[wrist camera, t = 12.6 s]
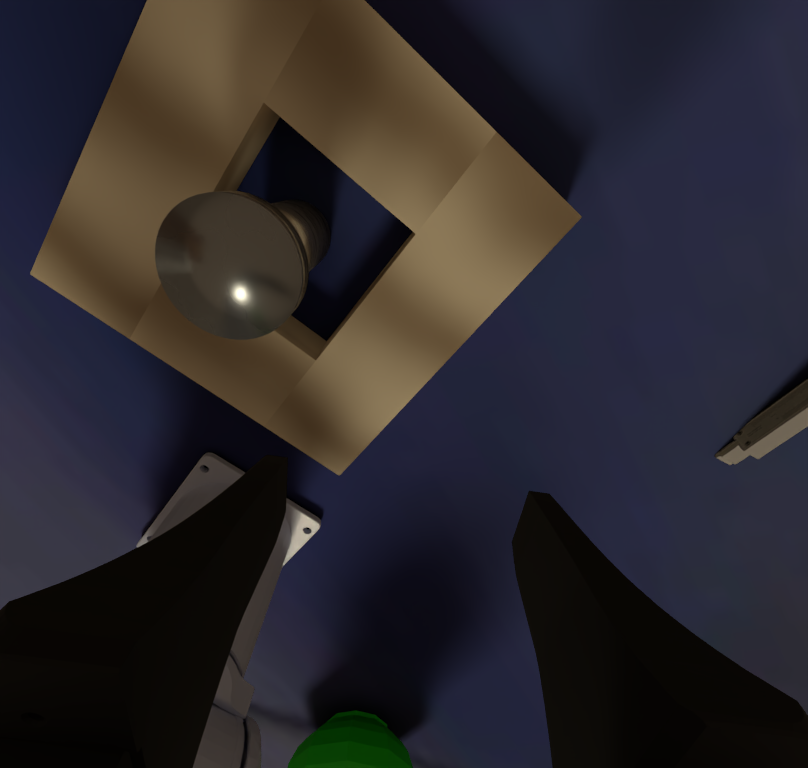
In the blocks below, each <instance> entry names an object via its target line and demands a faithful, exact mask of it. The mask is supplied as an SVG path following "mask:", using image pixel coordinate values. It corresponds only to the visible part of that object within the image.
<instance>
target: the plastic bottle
mask: <svg viewBox="0 0 808 768" xmlns="http://www.w3.org/2000/svg"><path fill="white" fill-rule="evenodd" d="M288 768H413V767H412V763H411V760H410V757H409V753H408V751H407V749H406V748H405V746H404V745H403V743H402V742H401V741H400V740H399V739H398V738H397V737H396V736H395V735H394V733H393V732H392V731H391V730H389V729H388V728H387V724H386V723H385V722H383V721H382V720H381V719H380V718H378V717H377V716H376V715H374V714H370V713H365V712H361V711H356V710H355V711H348V712H342V713H337V714H335V715H334V716H333V717H332V718H331V719H329V720H328V721H327V722H326V723H325V724H323V725H322V726H321V727H320V728H318V729H317V730H316V731H315V732H314V733H312V734H311V735H310V736H309V737H308V738H306V739H305V741H304V742H303V743H302V744H301V745H300V746H299V747H298V748H297V750H296V752H295V753H294V755H293V757H292V759H291V760H290V762H289V765H288Z"/></svg>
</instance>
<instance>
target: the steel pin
mask: <svg viewBox="0 0 808 768" xmlns="http://www.w3.org/2000/svg"><path fill="white" fill-rule="evenodd" d="M330 241H331V235H330V229H329V226H328V223H327V221H326V219H325V217H324V216H323V214H322V213H321V212H320V211H319V210H318V209H317V208H316V207H315V206H313V205H312V204H310V203H308V202H306V201H303V200H297V199H290V200H285V201H280V202H276V203H271V204H270V203H269V202H267V201H265V200H264V199H262V198H260V197H257V196H255V195H252V194H249V193H245V192H240V191H217V192H207V193H202V194H197V195H194V196H192V197H189V198H187V199H185V200H183V201H182V202H180V203H179V204H177V205H176V206H175V207H174V208H173V209H172V210H171V211H170V212H169V213H168V214H167V216H166V217H165V219H164V220H163V222H162V224H161V226H160V229H159V231H158V234H157V238H156V244H155V262H156V269H157V272H158V276H159V279H160V282H161V284H162V287H163V289H164V291H165V292H166V294H167V296H168V298H169V299H170V300H171V302H172V303H173V305H174V306H175V307H176V308H177V309H178V311H179V312H180V313H181V314H182V315H183V316H184V317H185V318H187V319H188V320H189V321H190V322H192V323H193V324H194V325H196V326H197V327H199V328H201V329H202V330H204V331H206V332H208V333H211V334H213V335H216V336H219V337H223V338H227V339H235V340H248V339H254V338H258V337H261V336H264V335H267V334H269V333H271V332H272V331H274V330H276V329H277V328H278V327H280V326H281V325H282V324H283V323H284V322H285V321H286V320H287V319H288V318H289V317H290V315H291V314H292V313H293V312H294V311H295V310H296V308H297V307H298V306H299V304H300V303H301V301H302V299H303V297H304V294H305V292H306V288H307V285H308V277H309V271H311V270H312V269H313V268H314V267H315V266H316V265H317V264H318V263H319V262H320V261H322V260H323V258H324V257H325V256H326V254H327V252H328V250H329V246H330Z"/></svg>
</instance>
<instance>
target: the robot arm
mask: <svg viewBox="0 0 808 768" xmlns="http://www.w3.org/2000/svg"><path fill="white" fill-rule="evenodd" d="M203 465H205V466H207V467H208V468H209V469H207V468H205V467H204V466H203ZM287 465H288V458H286V457H279V456H272V455H266V456H265V457H263V458H262V459H261V460H260V461H259V462H257V463H256V464H255V465H254V466H253V467H252V468H251V469H249V470H248V471H247V472H246V473H245V472H244V471H242V470H240V469H239V468H237V467H235V466H234V465H232V464H230V463H229V462H227V461H226V460H224V459H222V458H221V457H219V456H217V455H216V454H214V453H209V452H208V453H205V454H204V455H203V456H202V457H201V459H200V460H199V461H198V463H197V464H196V466H195V467H194V468H193V470H192V471H191V472H190V474H189V475H188V476H187V478H186V479H185V480H184V482H183V483H182V484H181V486H180V487H179V488H178V490H177V491H176V492H175V494H174V495H173V496H172V498H171V499H170V501H169V502H168V503H167V505H166V506H165V507H164V509H163V510H162V511H161V513H160V514H159V515H158V517H157V518H156V519H155V521H154V522H153V523H152V525H151V526H150V527H149V529H148V530H147V532H146V533H145V534H144V536H143V537H142V538H141V540H140V541H139V542H138V544H137V548H136V549H134V550H132V551H130V552H128V553H126V554H124V555H122V556H120V557H118V558H116V559H114V560H112V561H110V562H108V563H106V564H103V565H101V566H99V567H97V568H95V569H92V570H90V571H88V572H85V573H83V574H81V575H78V576H76V577H74V578H71V579H69V580H66V581H64V582H61V583H59V584H56V585H53V586H51V587H48V588H45V589H43V590H40V591H37V592H35V593H32V594H29V595H26V596H24V597H21V598H18V599H15V600H12V601H9V602H8V603H7V604H6V605H5V606H4V607H3V608H2V609H1V610H0V768H261V735H260V729H259V727H258V724H257V722H256V721H255V720H254V719H253V718H251V717H249V716H247V711H248V708H249V705H250V702H251V699H252V696H253V693H254V690H255V689H254V687H253V686H252V685H250V684H249V683H247V682H246V681H245V680H244V679H243V678H244V675H245V672H246V669H247V666H248V663H249V661H250V658H251V655H252V652H253V649H254V646H255V643H256V641H257V638H258V635H259V632H260V629H261V626H262V623H263V621H264V618H265V615H266V612H267V609H268V606H269V603H270V601H271V598H272V595H273V592H274V589H275V586H276V583H277V581H278V578H279V575H280V572H281V569H282V567H283V566H284V565H285V564H286V562H287V561H288V560H289V559H290V558H291V557H292V556H293V555H294V554H295V553H296V552H297V551H298V550H299V549H300V548H301V547H302V546H303V545H304V544H305V543H306V542H307V541H308V540H309V539H310V538H311V537H312V536H313V535H314V534H315V533H316V532H317V531H318V530H319V528H320V526H321V520H320V519H319V518H318V517H317V516H315V515H314V514H312V513H310V512H309V511H307V510H305V509H304V508H302V507H300V506H299V505H297V504H296V503H294V502H292V501H291V500H289V499H287V498H286V496H287ZM306 527H308V528H310V529H306ZM512 546H513V556H514V564H515V571H516V577H517V581H518V585H519V589H520V593H521V597H522V601H523V605H524V609H525V613H526V617H527V621H528V625H529V628H530V632H531V636H532V640H533V644H534V648H535V652H536V657H537V661H538V666H539V672H540V678H541V685H542V691H543V697H544V704H545V711H546V718H547V726H548V733H549V740H550V748H551V757H552V766H553V768H808V715H807V714H806V712H805V711H804V710H803V708H802V707H801V705H800V704H799V703H798V701H796V700H795V699H793V698H791V697H790V696H788V695H786V694H785V693H783V692H781V691H780V690H778V689H777V688H775V687H773V686H772V685H770V684H768V683H767V682H765V681H763V680H762V679H760V678H758V677H757V676H755V675H754V674H752V673H750V672H749V671H747V670H745V669H744V668H742V667H741V666H739V665H738V664H736V663H735V662H733V661H732V660H730V659H729V658H727V657H726V656H725V655H723V654H722V653H720V652H719V651H717V650H716V649H714V648H713V647H711V646H710V645H709V644H707V643H706V642H704V641H703V640H702V639H700V638H699V637H697V636H696V635H695V634H693V633H692V632H691V631H689V630H688V629H687V628H686V627H684V626H683V625H682V624H680V623H679V622H678V621H676V620H675V619H674V618H673V617H671V616H670V615H669V614H668V613H666V612H665V611H664V610H663V609H661V608H660V607H659V606H658V605H657V604H655V603H654V602H653V601H652V600H651V599H650V598H649V597H647V596H646V595H645V594H644V593H643V592H642V591H641V590H640V589H638V588H637V587H636V586H635V585H634V584H633V583H632V582H631V581H630V580H629V579H627V578H626V577H625V576H624V575H623V574H622V573H621V572H620V571H619V570H618V569H617V568H616V567H615V566H614V565H613V564H612V563H611V562H610V561H609V560H608V559H607V558H606V557H605V556H604V554H603V553H602V552H601V551H600V550H599V549H598V548H597V547H596V546H595V545H594V544H593V543H592V542H591V541H590V539H589V538H588V537H587V536H586V535H585V534H584V533H583V532H582V530H581V529H580V528H579V527H578V526H577V525H576V524H575V522H574V521H573V520H572V519H571V518H570V517H569V516H568V514H567V513H566V512H565V511H564V510H563V509H562V507H561V506H560V505H559V504H558V503H557V502H556V501H555V500H554V498H553V497H552V496H551V495H550V494H547V493H540V492H533V491H529V492H528V495H527V498H526V501H525V504H524V507H523V510H522V513H521V516H520V519H519V522H518V525H517V528H516V531H515V534H514V537H513V540H512Z"/></svg>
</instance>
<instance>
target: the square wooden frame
mask: <svg viewBox="0 0 808 768" xmlns="http://www.w3.org/2000/svg"><path fill="white" fill-rule="evenodd" d="M280 117H281V118H282V119H283V120H284V121H286V122H287V123H288V124H289V125H290V126H291V127H293V128H294V129H295V130H296V131H297V132H298V133H300V134H301V135H302V136H303V137H304V138H305V139H306V140H308V141H309V142H310V143H311V144H312V145H313V146H315V147H316V148H317V149H318V150H319V151H320V152H322V153H323V154H324V155H325V156H326V157H327V158H328V159H330V160H331V161H332V162H333V163H334V164H335V165H337V166H338V167H339V168H340V169H341V170H342V171H343V172H345V173H346V174H347V175H348V176H349V177H350V178H352V179H353V180H354V181H355V182H356V183H357V184H359V185H360V186H361V187H362V188H363V189H364V190H365V191H367V192H368V193H369V194H370V195H371V196H372V197H374V198H375V199H376V200H377V201H378V202H379V203H381V204H382V205H383V206H384V207H385V208H386V209H387V210H389V211H390V212H391V213H392V214H393V215H394V216H396V217H397V218H398V219H399V220H400V221H401V222H403V223H404V224H405V225H406V226H407V227H408V228H409V229H411V230H412V231H413V232H412V233H411V234H410V236H409V237H408V238H407V240H406V241H405V242H404V243H403V245H402V246H401V247H400V248H399V250H398V251H397V252H396V254H395V255H394V256H393V257H392V259H391V260H390V261H389V262H388V264H387V265H386V266H385V268H384V269H383V270H382V271H381V273H380V274H379V275H378V276H377V278H376V279H375V280H374V282H373V283H372V284H371V285H370V287H369V288H368V289H367V290H366V292H365V293H364V294H363V296H362V297H361V298H360V299H359V301H358V302H357V303H356V304H355V306H354V307H353V308H352V310H351V311H350V312H349V313H348V315H347V316H346V317H345V319H344V320H343V321H342V322H341V324H340V325H339V326H338V327H337V329H336V330H335V331H334V333H333V334H332V335H331V336H330V338H329V339H328V340H327V341H325V340H324V339H323V338H321V337H320V336H319V335H317V334H316V333H315V332H313V331H312V330H311V329H309V328H308V327H306V326H305V325H304V324H302V323H301V322H300V321H298V320H297V319H296V318H294V317H293V316H292V315H290V317H289V318H288V319H287V320H286V321H285V322H284V323H283V324H282V325H281V326H280V327H278V328H277V329H276V330H274V331H272V332H271V333H269V334H267V335H264V336H261V337H258V338H254V339H248V340H235V339H227V338H223V337H219V336H216V335H213V334H211V333H208V332H206V331H204V330H202V329H201V328H199V327H197V326H196V325H194V324H193V323H192V322H190V321H189V320H188V319H187V318H185V317H184V316H183V315H182V314H181V313H180V312H179V311H178V309H177V308H176V307H175V306H174V305H173V303H172V302H171V300H170V299H169V298H168V296H167V294H166V292H165V291H164V289H163V287H162V284H161V282H160V279H159V276H158V272H157V269H156V262H155V244H156V238H157V234H158V231H159V229H160V226H161V224H162V222H163V220H164V219H165V217H166V216H167V214H168V213H169V212H170V211H171V210H172V209H173V208H174V207H175V206H176V205H177V204H179V203H180V202H182V201H183V200H185V199H187V198H189V197H192V196H194V195H197V194H202V193H207V192H217V191H237V189H238V187H239V186H240V184H241V182H242V180H243V179H244V177H245V175H246V174H247V172H248V170H249V169H250V167H251V165H252V163H253V162H254V160H255V158H256V157H257V155H258V153H259V152H260V150H261V148H262V146H263V145H264V143H265V141H266V140H267V138H268V136H269V135H270V133H271V131H272V129H273V128H274V126H275V124H276V123H277V121H278V119H279V118H280ZM581 217H582V216H581V215H580V214H579V213H577V212H576V211H575V210H574V209H573V208H572V207H571V206H570V205H569V204H568V203H567V202H566V201H565V200H564V199H563V198H562V197H561V196H560V195H559V194H558V193H557V192H556V191H555V190H554V189H553V188H552V187H551V186H550V185H549V184H548V183H547V182H546V181H545V180H544V179H543V178H542V177H541V176H540V175H539V174H538V173H537V172H536V171H535V170H534V169H533V168H532V167H531V166H530V165H529V164H528V163H527V162H526V161H525V160H524V159H523V158H522V157H521V156H520V155H519V154H518V153H517V152H516V151H515V150H514V149H513V148H512V147H511V146H510V145H509V144H508V143H507V142H506V141H505V140H504V139H503V138H502V137H501V136H500V135H499V134H498V133H497V132H496V131H495V130H494V129H493V128H492V127H491V126H490V125H489V124H488V123H487V122H486V121H485V120H484V119H483V118H482V117H481V116H480V115H479V114H478V113H477V112H476V111H475V110H474V109H473V108H472V107H471V106H470V105H469V104H468V103H467V102H466V101H465V100H464V99H463V98H462V97H461V96H460V95H459V94H458V93H457V92H456V91H455V90H454V89H453V88H452V87H451V86H450V85H449V84H448V83H447V82H446V81H445V80H444V79H443V78H442V77H441V76H440V75H439V74H438V73H437V72H436V71H435V70H434V69H433V68H432V67H431V66H430V65H429V64H428V63H427V62H426V61H425V60H424V59H423V58H422V57H421V56H420V55H419V54H418V53H417V52H416V51H415V50H414V49H413V48H412V47H411V46H410V45H409V44H408V43H407V42H406V41H405V40H404V39H403V38H402V37H401V36H400V35H399V34H398V33H397V32H396V31H395V30H394V29H393V28H392V27H391V26H390V25H389V24H388V23H387V22H386V21H385V20H384V19H383V18H382V17H381V16H380V15H379V14H378V13H377V12H376V11H375V10H374V9H373V8H372V7H371V6H370V5H369V4H368V3H367V2H366V1H365V0H147V1H146V4H145V6H144V8H143V11H142V13H141V15H140V18H139V20H138V22H137V25H136V27H135V29H134V32H133V34H132V37H131V39H130V41H129V44H128V46H127V48H126V51H125V53H124V55H123V58H122V60H121V62H120V65H119V67H118V69H117V72H116V74H115V76H114V79H113V81H112V83H111V86H110V88H109V90H108V93H107V95H106V97H105V100H104V102H103V104H102V107H101V109H100V111H99V114H98V116H97V118H96V121H95V123H94V125H93V128H92V130H91V132H90V135H89V137H88V139H87V142H86V144H85V146H84V149H83V151H82V153H81V156H80V158H79V160H78V163H77V165H76V167H75V170H74V172H73V174H72V177H71V179H70V182H69V184H68V186H67V189H66V191H65V193H64V196H63V198H62V200H61V203H60V205H59V207H58V210H57V212H56V214H55V217H54V219H53V221H52V224H51V226H50V228H49V231H48V233H47V235H46V238H45V240H44V242H43V245H42V247H41V249H40V252H39V254H38V256H37V259H36V261H35V263H34V266H33V268H32V270H31V273H30V274H31V275H32V276H34V277H35V278H37V279H38V280H40V281H41V282H43V283H45V284H46V285H48V286H49V287H51V288H52V289H54V290H55V291H57V292H58V293H60V294H61V295H63V296H64V297H66V298H68V299H69V300H71V301H72V302H74V303H75V304H77V305H78V306H80V307H81V308H83V309H84V310H86V311H87V312H89V313H91V314H92V315H94V316H95V317H97V318H98V319H100V320H101V321H103V322H104V323H106V324H107V325H109V326H110V327H112V328H114V329H115V330H117V331H118V332H120V333H121V334H123V335H124V336H126V337H127V338H129V339H130V340H132V341H133V342H135V343H137V344H138V345H140V346H141V347H143V348H144V349H146V350H147V351H149V352H150V353H152V354H153V355H155V356H156V357H158V358H160V359H161V360H163V361H164V362H166V363H167V364H169V365H170V366H172V367H173V368H175V369H176V370H178V371H180V372H181V373H183V374H184V375H186V376H187V377H189V378H190V379H192V380H193V381H195V382H196V383H198V384H199V385H201V386H203V387H204V388H206V389H207V390H209V391H210V392H212V393H213V394H215V395H216V396H218V397H219V398H221V399H222V400H224V401H226V402H227V403H229V404H230V405H232V406H233V407H235V408H236V409H238V410H239V411H241V412H242V413H244V414H245V415H247V416H249V417H250V418H252V419H253V420H255V421H256V422H258V423H259V424H261V425H262V426H264V427H265V428H267V429H268V430H270V431H272V432H273V433H275V434H276V435H278V436H279V437H281V438H282V439H284V440H285V441H287V442H288V443H290V444H291V445H293V446H295V447H296V448H298V449H299V450H301V451H302V452H304V453H305V454H307V455H308V456H310V457H311V458H313V459H314V460H316V461H318V462H319V463H321V464H322V465H324V466H325V467H327V468H328V469H330V470H331V471H333V472H334V473H336V474H337V475H340V474H341V473H342V472H343V471H344V470H345V469H346V468H347V467H348V466H349V465H350V464H351V463H352V462H353V461H354V459H355V458H356V457H357V456H358V455H359V454H360V453H361V452H362V451H363V450H364V449H365V448H366V447H367V446H368V445H369V443H370V442H371V441H372V440H373V439H374V438H375V437H376V436H377V435H378V434H379V433H380V432H381V431H382V430H383V429H384V427H385V426H386V425H387V424H388V423H389V422H390V421H391V420H392V419H393V418H394V417H395V416H396V415H397V414H398V413H399V411H400V410H401V409H402V408H403V407H404V406H405V405H406V404H407V403H408V402H409V401H410V400H411V399H412V398H413V397H414V395H415V394H416V393H417V392H418V391H419V390H420V389H421V388H422V387H423V386H424V385H425V384H426V383H427V382H428V381H429V379H430V378H431V377H432V376H433V375H434V374H435V373H436V372H437V371H438V370H439V369H440V368H441V367H442V366H443V365H444V363H445V362H446V361H447V360H448V359H449V358H450V357H451V356H452V355H453V354H454V353H455V352H456V351H457V350H458V349H459V347H460V346H461V345H462V344H463V343H464V342H465V341H466V340H467V339H468V338H469V337H470V336H471V335H472V334H473V333H474V331H475V330H476V329H477V328H478V327H479V326H480V325H481V324H482V323H483V322H484V321H485V320H486V319H487V318H488V317H489V315H490V314H491V313H492V312H493V311H494V310H495V309H496V308H497V307H498V306H499V305H500V304H501V303H502V302H503V301H504V299H505V298H506V297H507V296H508V295H509V294H510V293H511V292H512V291H513V290H514V289H515V288H516V287H517V286H518V285H519V283H520V282H521V281H522V280H523V279H524V278H525V277H526V276H527V275H528V274H529V273H530V272H531V271H532V270H533V269H534V267H535V266H536V265H537V264H538V263H539V262H540V261H541V260H542V259H543V258H544V257H545V256H546V255H547V254H548V253H549V251H550V250H551V249H552V248H553V247H554V246H555V245H556V244H557V243H558V242H559V241H560V240H561V239H562V238H563V237H564V235H565V234H566V233H567V232H568V231H569V230H570V229H571V228H572V227H573V226H574V225H575V224H576V223H577V222H578V220H579V219H580V218H581Z"/></svg>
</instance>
